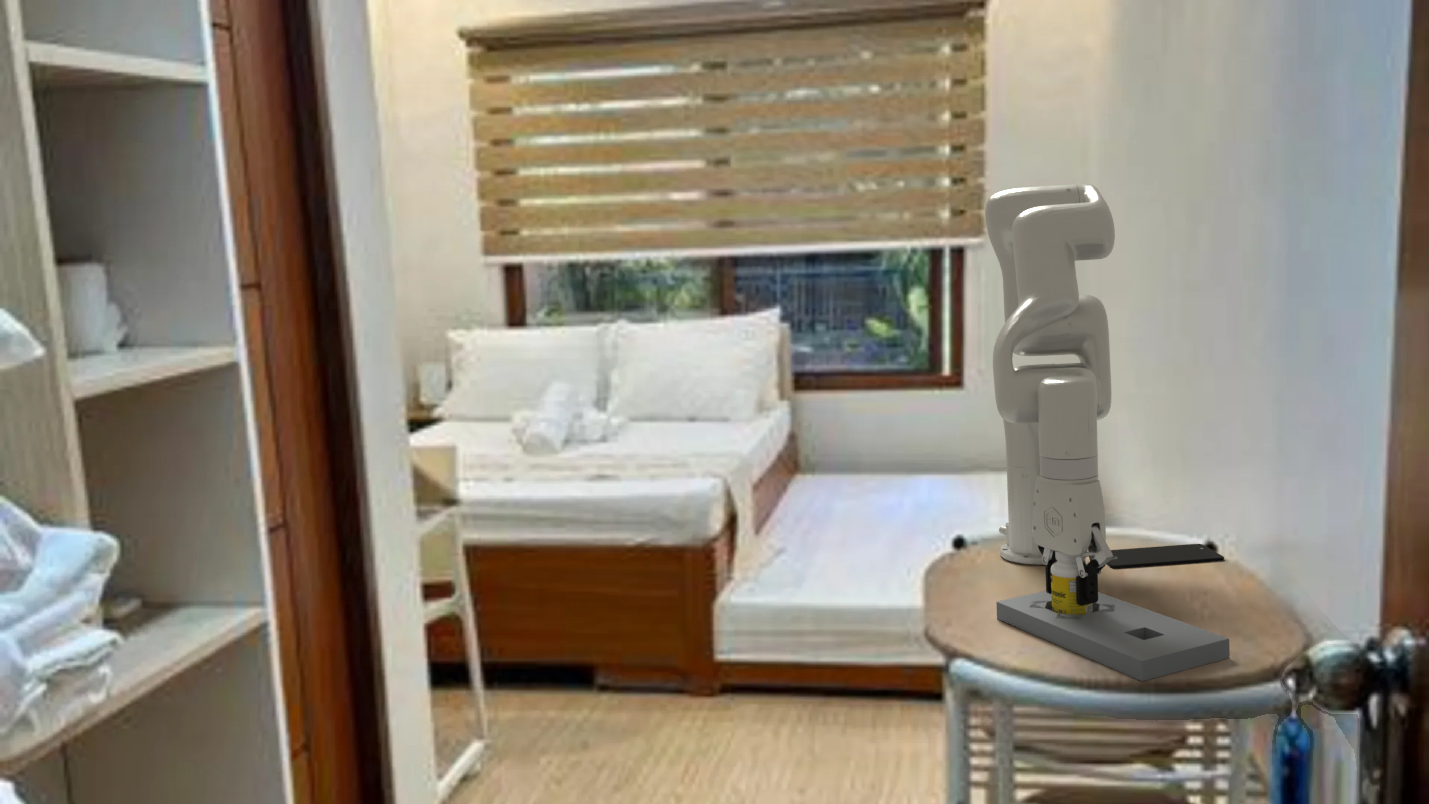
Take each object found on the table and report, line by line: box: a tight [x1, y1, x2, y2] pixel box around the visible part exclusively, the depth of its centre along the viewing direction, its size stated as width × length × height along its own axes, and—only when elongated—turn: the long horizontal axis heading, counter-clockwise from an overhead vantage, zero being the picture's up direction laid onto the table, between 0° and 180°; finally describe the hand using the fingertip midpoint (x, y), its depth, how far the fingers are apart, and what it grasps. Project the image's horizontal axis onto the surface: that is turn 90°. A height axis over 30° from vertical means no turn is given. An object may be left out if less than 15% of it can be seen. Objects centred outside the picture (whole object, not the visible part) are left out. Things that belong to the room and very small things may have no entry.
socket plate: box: [996, 590, 1230, 682], centre depth 158 cm, size 28×14×2 cm, turn 24°
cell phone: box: [1105, 543, 1225, 570], centre depth 193 cm, size 9×18×1 cm, turn 92°
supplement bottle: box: [1051, 551, 1093, 615], centre depth 164 cm, size 5×5×10 cm
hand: (1071, 596), depth 164 cm, fingers closed on supplement bottle, 5 cm apart
